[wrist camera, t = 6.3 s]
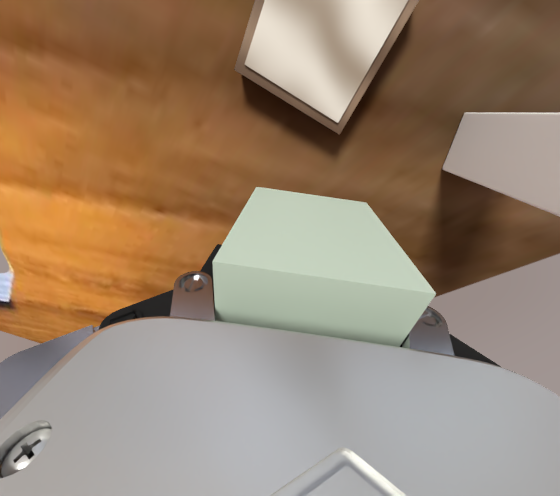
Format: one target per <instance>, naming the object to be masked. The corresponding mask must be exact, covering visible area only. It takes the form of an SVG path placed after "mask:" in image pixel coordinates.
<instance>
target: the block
mask: <svg viewBox="0 0 560 496" xmlns="http://www.w3.org/2000/svg"><path fill="white" fill-rule="evenodd" d="M212 264H213V282H214V300H215V318H216V321H221V322H229V323H236V324H243V325H251V326H258V327H265V328H272V329H280V330H287V331H294V332H301V333H308V334H315V335H322V336H329V337H335V338H342V339H349V340H356V341H363V342H370V343H376V344H383V345H390V346H396V347H400V345H401V344H402V342H403V341H404V339H405V338H406V337H407V335H408V334H409V332H410V331H411V329H412V328H413V327H414V325H415V324H416V322H417V321H418V319H419V318H420V316H421V315H422V314H423V312H424V311H425V309H426V308H427V306H428V305H429V303H430V302H431V300H432V299H433V298H434V296H435V295H436V293H435V291H434V290H433V289H432V287H431V286H430V285H429V284H428V282H427V281H426V280H425V278H424V277H423V276H422V274H421V273H420V272H419V271H418V269H417V268H416V267H415V265H414V264H413V263H412V261H411V260H410V259H409V258H408V256H407V255H406V254H405V252H404V251H403V250H402V248H401V247H400V246H399V245H398V243H397V242H396V241H395V239H394V238H393V237H392V235H391V234H390V233H389V232H388V230H387V229H386V228H385V226H384V225H383V224H382V222H381V221H380V220H379V219H378V217H377V216H376V215H375V213H374V212H373V211H372V209H371V208H370V207H369V205H368V204H367V203H365V202H358V201H351V200H344V199H338V198H331V197H324V196H317V195H310V194H303V193H296V192H289V191H282V190H275V189H268V188H261V187H256V189H255V190H254V192H253V194H252V195H251V197H250V199H249V200H248V202H247V204H246V205H245V207H244V209H243V211H242V212H241V214H240V216H239V217H238V219H237V221H236V222H235V224H234V226H233V227H232V229H231V231H230V232H229V234H228V236H227V238H226V239H225V241H224V243H223V244H222V246H221V248H220V249H219V251H218V253H217V254H216V256H215V258H214V260H213V261H212Z"/></svg>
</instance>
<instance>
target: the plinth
mask: <svg viewBox="0 0 560 496" xmlns="http://www.w3.org/2000/svg"><path fill="white" fill-rule="evenodd" d="M418 1H419V0H255V2H254V5H253V9H252V12H251V15H250V19H249V22H248V25H247V29H246V32H245V35H244V39H243V42H242V45H241V49H240V52H239V55H238V59H237V62H236V65H235V69H234V70H235V71H237V72H238V73H240V74H242V75H243V76H245V77H246V78H248V79H250V80H251V81H253V82H254V83H256V84H258V85H259V86H261V87H263V88H264V89H266V90H267V91H269V92H271V93H272V94H274V95H276V96H277V97H279V98H280V99H282V100H284V101H285V102H287V103H288V104H290V105H292V106H293V107H295V108H297V109H298V110H300V111H301V112H303V113H305V114H306V115H308V116H310V117H311V118H313V119H314V120H316V121H318V122H319V123H321V124H323V125H324V126H326V127H327V128H329V129H331V130H332V131H334V132H335V133H337V134H339V135H340V133H341V132H342V130H343V128H344V126H345V125H346V123H347V121H348V120H349V118H350V116H351V115H352V113H353V111H354V110H355V108H356V106H357V104H358V103H359V101H360V99H361V98H362V96H363V94H364V93H365V91H366V89H367V88H368V86H369V84H370V82H371V81H372V79H373V77H374V76H375V74H376V72H377V71H378V69H379V67H380V66H381V64H382V62H383V60H384V59H385V57H386V55H387V54H388V52H389V50H390V49H391V47H392V45H393V44H394V42H395V40H396V39H397V37H398V35H399V33H400V32H401V30H402V28H403V27H404V25H405V23H406V22H407V20H408V18H409V17H410V15H411V13H412V11H413V10H414V8H415V6H416V5H417V3H418Z"/></svg>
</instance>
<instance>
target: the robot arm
mask: <svg viewBox="0 0 560 496" xmlns="http://www.w3.org/2000/svg"><path fill="white" fill-rule="evenodd" d="M221 246H222V245H219V244H218V245H217V246H216V247H215V249H214V250H213V252H212V253H211V255H210V256H209V258H208V260H207V261H206V263H205V264H204V266H203V268H202V269H201V271H192V272H188V273H185V274H183V275H181V276H180V277H178V278H177V280H176V281H175V284H174V290H171V291H169V292H166V293H163V294H160V295H158V296H155V297H152V298H150V299H147V300H144V301H141V302H139V303H136V304H133V305H130V306H128V307H125V308H122V309H120V310H118V311H115V312H113V313H112V314H110V315H109V316H107V317H106V318H105V319H104V320H103V321H102V323H101V325H100V326H97V327H95V328H93V326H92V325H91V326H88V327H85V328H82V329H80V330H77V331H74V332H72V333H69V334H66V335H64V336H61V337H58V338H56V339H53V340H50V341H47V342H45V343H42V344H40V345H37V346H34V347H32V348H29V349H26V350H23V351H20V352H18V353H16V354H14V355H12V356H10V357H8V358H7V359H5V360H4V361H2V362H1V363H0V496H560V397H559V396H558V395H557V394H555V393H554V392H552V391H551V390H549V389H547V388H546V387H544V386H542V385H540V384H539V383H537V382H535V381H533V380H531V379H529V378H526V377H524V376H522V375H520V374H517V373H515V372H513V371H510V370H508V369H505V368H502V367H500V366H499V365H497V364H496V363H495V362H493V361H491V360H490V359H488V358H487V357H485V356H483V355H482V354H480V353H479V352H477V351H475V350H474V349H472V348H471V347H469V346H468V345H466V344H465V343H463V342H461V341H460V340H458V339H457V338H455V337H454V336H452V335H451V334H449V331H448V327H447V323H446V321H445V319H444V318H443V317H442V315H441V314H440V313H438V312H437V311H436V310H434V309H433V308H431V307H429V306H427V308H426V309H425V311H424V312H423V314H422V315H421V316H420V318H419V319H418V321H417V322H416V324H415V325H414V327H413V328H412V329H411V331H410V332H409V334H408V335H407V337H406V338H405V339H404V341H403V342H402V344H401V345H400V347H396V346H390V345H383V344H376V343H370V342H363V341H356V340H349V339H342V338H335V337H329V336H322V335H315V334H308V333H301V332H294V331H287V330H280V329H272V328H265V327H258V326H251V325H243V324H236V323H229V322H221V321H216V318H215V300H214V282H213V264H212V261H213V260H214V258H215V256H216V254H217V253H218V251H219V249H220V248H221Z"/></svg>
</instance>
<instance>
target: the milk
mask: <svg viewBox="0 0 560 496" xmlns="http://www.w3.org/2000/svg"><path fill="white" fill-rule="evenodd" d="M442 170H444V171H447V172H449V173H452V174H454V175H457V176H459V177H462V178H464V179H467V180H470V181H472V182H475V183H477V184H480V185H482V186H485V187H487V188H490V189H492V190H495V191H497V192H500V193H502V194H505V195H507V196H510V197H512V198H515V199H517V200H520V201H522V202H525V203H527V204H530V205H532V206H535V207H537V208H540V209H542V210H545V211H547V212H550V213H552V214H555V215H557V216H560V113H464V115H463V117H462V120H461V122H460V125H459V127H458V130H457V132H456V135H455V137H454V140H453V142H452V145H451V147H450V150H449V152H448V155H447V157H446V160H445V163H444V165H443V168H442Z"/></svg>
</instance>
